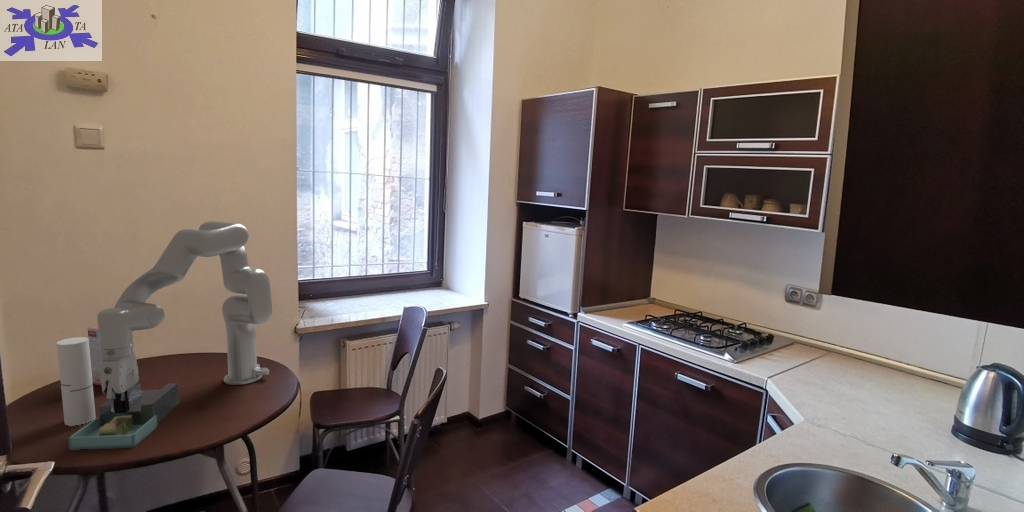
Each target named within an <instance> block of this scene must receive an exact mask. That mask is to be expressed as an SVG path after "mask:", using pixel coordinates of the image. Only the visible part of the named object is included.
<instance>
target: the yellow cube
mask: <svg viewBox="0 0 1024 512" xmlns="http://www.w3.org/2000/svg"><path fill="white" fill-rule="evenodd" d="M109 435H124V433H123V422H116V423H106V424H105V425H104V426H103V427H102V428H100V429H99V436H109Z"/></svg>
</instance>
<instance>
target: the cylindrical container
mask: <svg viewBox="0 0 1024 512" xmlns="http://www.w3.org/2000/svg"><path fill="white" fill-rule="evenodd" d="M56 350H57V360H58V370H59V371H58V372H59V380H60V389H61V399H62V400H61V401H62V409H63V411H62V413H63V419H64V420H63V421H64V425H65V426H66V425H68V426H67V427H76V426H75V425H78V426H82V425H81V424H83V425H86V424H88V422H89V423H90V421H92V420H94V419H95V418H97V417H96V408H95V407H96V406H95V405H96V404H95V396H94V384H93V383H92V372H91V360H90V349H89V339H88V337H86V336H78V337H77V336H76V337H69V338H65V339H61V340H59V341H57V342H56ZM85 423H86V424H85Z"/></svg>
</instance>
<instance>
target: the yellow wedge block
mask: <svg viewBox="0 0 1024 512" xmlns="http://www.w3.org/2000/svg"><path fill="white" fill-rule="evenodd" d="M116 422H123V433H124V435H127V434H128V433H129V432H130V431H131V430H132V429H133V422H132V415H128V416H116V417H115V418H114V419H113V420H112V421H110V422H109V423H116Z"/></svg>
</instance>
